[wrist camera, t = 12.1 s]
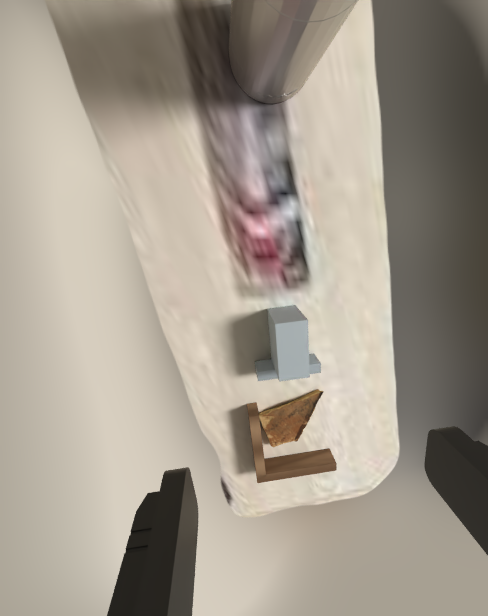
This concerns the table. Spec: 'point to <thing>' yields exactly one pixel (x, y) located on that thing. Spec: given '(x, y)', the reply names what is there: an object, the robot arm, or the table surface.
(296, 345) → the grey inverted t block
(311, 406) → the shard
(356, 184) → the table surface
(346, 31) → the table surface
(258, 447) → the corner fence
